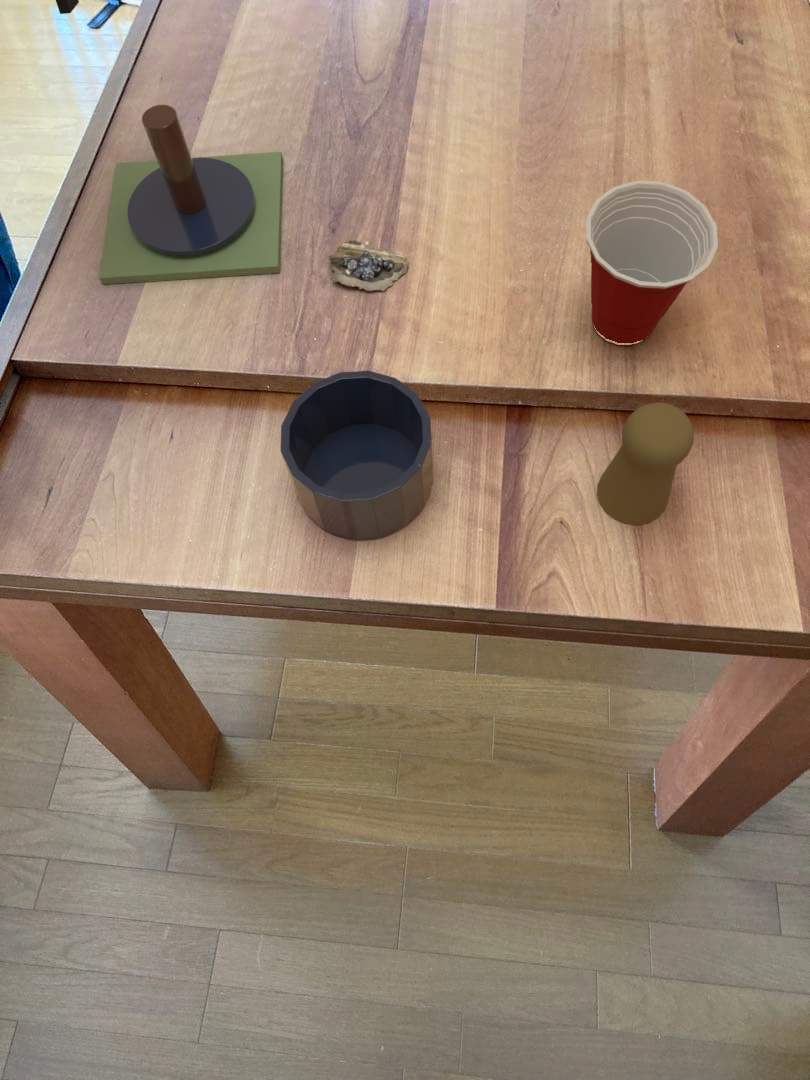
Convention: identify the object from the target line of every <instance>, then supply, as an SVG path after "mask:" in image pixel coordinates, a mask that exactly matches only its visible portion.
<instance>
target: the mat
mask: <svg viewBox="0 0 810 1080" xmlns="http://www.w3.org/2000/svg"><path fill="white" fill-rule="evenodd" d="M196 158H212V159H218V160H221V161H224V162H227V163H229V164H231V165H233V166H235V167H236V168H238V169H239V170H240V171H242V172H243V174H244V175H245V176H246V177H247V178H248V180H249V181H250V184H251V186H252V189H253V193H254V201H255V203H254V210H253V213H252V216H251V218H250V220H249V222H248V223H247V225H246V226H245V228H244V229H243V230H242V231H241V232H240V233H239V234H238V235H237V236H236V237H235V238H234V239H232V240H231V241H229V242H228V243H226V244H224V245H223V246H221V247H219V248H216V249H214V250H211V251H208V252H205V253H201V254H196V255H188V256H177V255H169V254H164V253H161V252H158V251H155V250H153V249H151V248H149V247H147V246H146V245H144V244H143V243H142V242H141V241H140V240H139V239H138V238H137V237H136V236H135V234H134V232H133V231H132V229H131V226H130V224H129V221H128V214H127V212H128V204H129V200H130V198H131V195H132V193H133V192H134V190H135V188H136V187H137V186H138V184H139V183H140V182H141V181H142V180H143V179H144V178H145V177H147V176H148V175H149V174H150V173H152V172H153V171H155V170H156V169H158V168H160V167H159V164H158V162H157V159H155V160H142V161H141V160H140V161H126V162H116V163H115V166H114V173H113V180H112V187H111V193H110V194H111V195H110V200H109V201H110V202H109V207H108V208H109V210H108V214H107V216H108V217H107V221H106V228H105V235H104V242H103V249H102V256H101V261H100V262H101V263H100V269H99V276H98V278H99V280H100V282H101V284H102V285H115V284H118V285H119V284H129V283H130V284H131V283H133V284H134V283H145V282H146V283H147V282H160V281H161V282H162V281H163V282H164V281H178V280H192V279H194V280H195V279H207V278H209V279H210V278H221V277H222V278H223V277H239V276H240V277H241V276H253V275H267V274H268V275H269V274H279V273H281V247H282V245H281V244H282V242H281V241H282V211H283V210H282V207H283V206H282V203H283V174H284V171H283V170H284V168H283V167H284V157H283V153H282V151H273V152H270V151H269V152H257V153H245V154H244V153H241V154H229V155H228V154H227V155H214V156H199V157H197V156H196Z"/></svg>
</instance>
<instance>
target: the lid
mask: <svg viewBox="0 0 810 1080" xmlns="http://www.w3.org/2000/svg"><path fill="white" fill-rule="evenodd" d="M141 122H142V125H143V128H144V130H145V133H146V135H147V138H148V141H149V143H150V146H151V148H152V151H153V154H154V157H155V160H157V162H158V164H159V167H160V168H158V169H156V170H155V171H153V172H152V173H150V174H149V175H148V176H147V177H145V178H144V179H143V180H142V181H141V182H140V183H139V184H138V186H137V187H136V188H135V190H134V192H133V193H132V195H131V198H130V200H129V204H128V212H127V214H128V221H129V224H130V226H131V229H132V231H133V232H134V234H135V236H136V237H137V238H138V239H139V240H140V241H141V242H142V243H143V244H144V245H146V246H147V247H149V248H151V249H153V250H155V251H158V252H161V253H164V254H169V255H177V256H188V255H196V254H201V253H205V252H208V251H211V250H214V249H216V248H219V247H221V246H223V245H224V244H226V243H228V242H229V241H231V240H232V239H234V238H235V237H236V236H237V235H238V234H239V233H240V232H241V231H242V230H243V229H244V228H245V226H246V225H247V223H248V222H249V220H250V218H251V216H252V213H253V210H254V203H255V201H254V193H253V189H252V186H251V184H250V181H249V180H248V178H247V177H246V176H245V175H244V174H243V172H242V171H240V170H239V169H238V168H236V167H235V166H233V165H231V164H229V163H227V162H224V161H221V160H218V159H212V158H197V157H192V155H191V152H190V149H189V146H188V143H187V140H186V137H185V135H184V131H183V129H182V126H181V125H182V124H181V123H180V118H179V116H178V113H177V111H176V109H174V107H172V106H171V105H167V104H156V105H153V106H151V107H149V108H147V109H146V110H145V111H144V112H143V114H142V115H141Z"/></svg>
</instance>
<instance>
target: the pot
mask: <svg viewBox="0 0 810 1080" xmlns="http://www.w3.org/2000/svg"><path fill="white" fill-rule="evenodd" d="M280 454H281V456H282V459H283V461H284V465H285V467H286V470H287V472H288V475H289V478H290V480H291V484H292V486H293V489H294V492H295V495H296V497H297V498H298V501H299V503H300V505H301V508H302V509H303V512H304V514H305V515H306V516H307V517H308V518H309V519H310V520H311V521H312V522H313V523H314V524H315V525H316V526H317V527H319V528H320V529H321V530H323V531H325V532H327V533H329V534H331V535H333V536H335V537H338V538H342V539H346V540H351V541H371V540H378V539H381V538H385V537H388V536H390V535H394V534H395V533H397V532H399V531H401V530H403V529H404V528H405V527H407V526H409V525H410V523H412V522H413V521H414V520H415V519H416V518H417V517H418V516H419V514H420V513H421V512H422V510H423V509H424V508H425V506H426V504H427V503H428V500H429V498H430V495H431V493H432V492H431V491H432V488H433V485H434V472H433V471H434V467H433V440H432V423H431V416H430V414H429V412H428V410H427V408H426V407H425V405H424V403H423V402H422V399H421V398H420V396H419V395H418V393H417V392H416V391H414V390H412V388H410V387H409V386H407V385H406V384H405V383H403V382H402V381H401V380H400V379H398V378H396V377H393V376H390V375H386V374H382V373H379V372H376V371H371V370H356V371H342V372H337V373H335V374H332V375H330V376H328V377H325V378H323V379H320V380H318V381H315V382H314V383H312V384H311V385H310V386H309V387H307V389H306V390H304V391H303V392H302V393H301V394H300V395H299V396H298V397H296V398H295V399H294V400H293V402H292V403H291V405H290V407H289V409H288V411H287V413H286V415H285V418H284V419H283V421H282V422H281V426H280Z"/></svg>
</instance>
